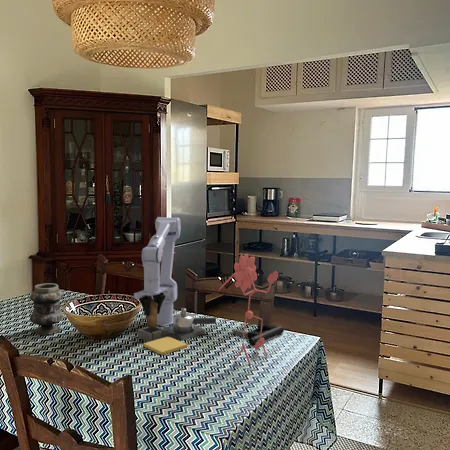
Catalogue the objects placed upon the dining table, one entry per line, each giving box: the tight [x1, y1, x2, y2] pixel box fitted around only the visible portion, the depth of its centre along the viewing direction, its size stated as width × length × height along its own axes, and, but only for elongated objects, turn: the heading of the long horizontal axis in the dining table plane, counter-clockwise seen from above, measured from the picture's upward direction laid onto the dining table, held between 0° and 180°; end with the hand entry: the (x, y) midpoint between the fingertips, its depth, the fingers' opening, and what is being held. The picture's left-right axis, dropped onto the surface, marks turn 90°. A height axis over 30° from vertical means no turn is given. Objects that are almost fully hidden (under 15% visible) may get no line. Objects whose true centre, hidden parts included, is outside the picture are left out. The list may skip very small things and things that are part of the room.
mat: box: [143, 335, 188, 356], centre depth 160 cm, size 11×11×1 cm
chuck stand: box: [162, 324, 206, 341], centre depth 175 cm, size 12×12×2 cm
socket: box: [137, 325, 167, 343], centre depth 169 cm, size 8×8×3 cm
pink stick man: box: [218, 253, 279, 365], centre depth 152 cm, size 15×26×35 cm, turn 137°
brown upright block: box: [146, 300, 158, 328], centre depth 169 cm, size 6×4×9 cm, turn 44°
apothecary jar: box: [29, 283, 64, 336], centre depth 174 cm, size 12×12×18 cm
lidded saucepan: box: [172, 307, 217, 332], centre depth 175 cm, size 16×8×8 cm, turn 96°
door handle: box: [232, 323, 284, 346], centre depth 173 cm, size 3×20×16 cm
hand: (152, 314), depth 169 cm, fingers closed on brown upright block, 4 cm apart
